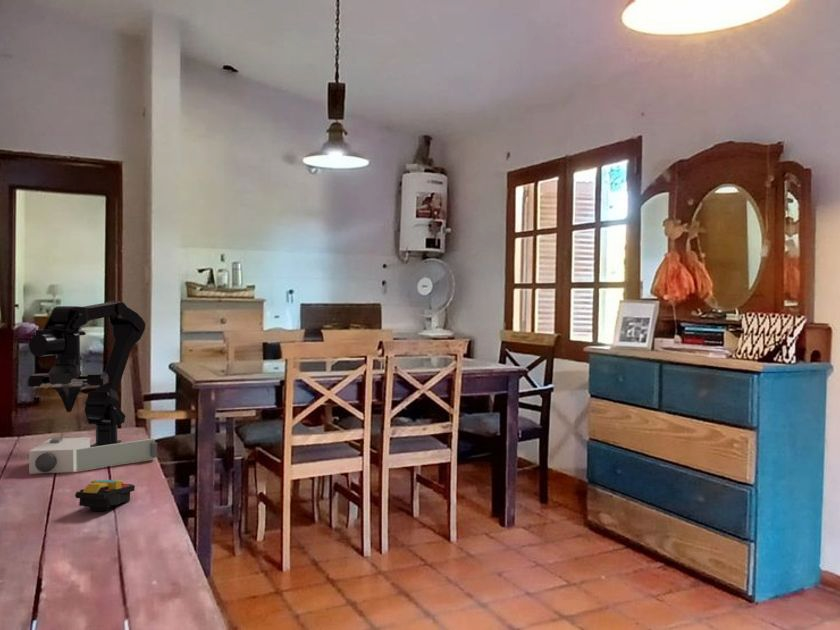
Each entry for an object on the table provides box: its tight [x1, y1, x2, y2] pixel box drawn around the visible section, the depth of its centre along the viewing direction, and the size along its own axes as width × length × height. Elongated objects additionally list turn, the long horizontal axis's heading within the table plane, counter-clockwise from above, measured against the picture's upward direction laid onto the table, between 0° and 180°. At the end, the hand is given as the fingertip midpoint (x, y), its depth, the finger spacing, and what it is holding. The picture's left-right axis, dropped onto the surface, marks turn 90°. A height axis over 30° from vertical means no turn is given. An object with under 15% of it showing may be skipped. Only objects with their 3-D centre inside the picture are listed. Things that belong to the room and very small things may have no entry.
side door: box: [75, 438, 158, 472], centre depth 179 cm, size 19×3×5 cm, turn 132°
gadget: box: [74, 478, 136, 512], centre depth 146 cm, size 6×13×6 cm, turn 171°
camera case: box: [28, 437, 91, 475], centre depth 178 cm, size 15×10×6 cm, turn 10°
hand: (69, 411), depth 188 cm, fingers closed
